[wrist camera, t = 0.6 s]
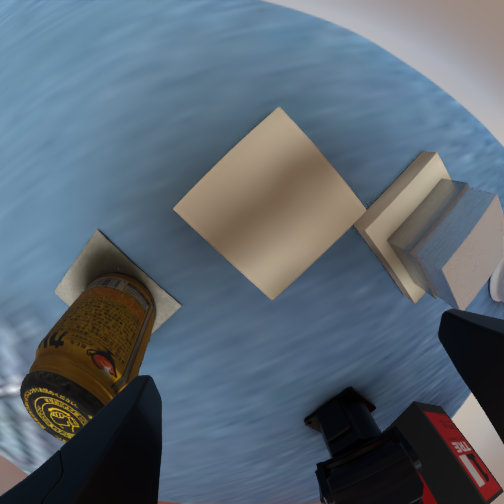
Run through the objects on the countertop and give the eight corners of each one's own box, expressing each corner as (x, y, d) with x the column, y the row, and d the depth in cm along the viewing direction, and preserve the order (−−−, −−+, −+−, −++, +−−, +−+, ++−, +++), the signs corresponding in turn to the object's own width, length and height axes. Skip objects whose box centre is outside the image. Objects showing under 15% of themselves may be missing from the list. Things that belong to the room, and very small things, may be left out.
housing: (463, 225, 20) (512, 244, 14) (414, 283, 21) (459, 317, 15) (441, 178, 18) (497, 189, 13) (386, 240, 19) (438, 269, 14)
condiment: (129, 355, 22) (93, 469, 11) (55, 291, 20) (-26, 379, 8) (182, 304, 21) (160, 432, 10) (98, 228, 19) (-4, 302, 7)
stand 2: (460, 227, 22) (474, 233, 20) (403, 294, 23) (415, 303, 22) (421, 151, 20) (436, 152, 18) (352, 224, 21) (364, 230, 19)
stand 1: (354, 205, 20) (367, 210, 18) (267, 288, 22) (272, 300, 20) (272, 111, 18) (279, 106, 16) (177, 204, 19) (172, 208, 17)
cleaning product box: (413, 401, 30) (486, 506, 11) (440, 406, 32) (503, 491, 13) (336, 470, 33) (375, 569, 14) (371, 469, 35) (410, 553, 16)
